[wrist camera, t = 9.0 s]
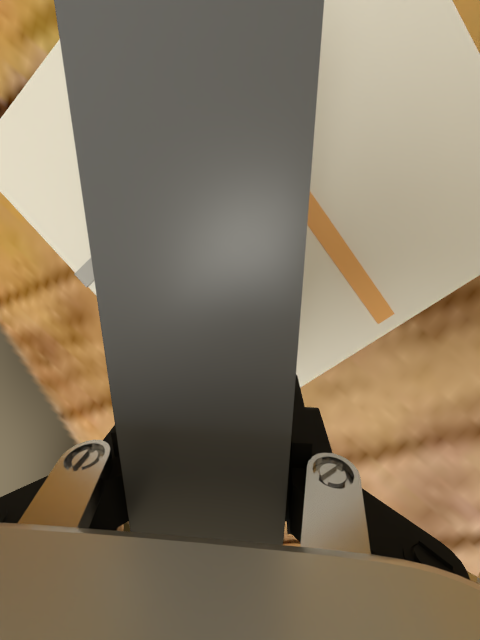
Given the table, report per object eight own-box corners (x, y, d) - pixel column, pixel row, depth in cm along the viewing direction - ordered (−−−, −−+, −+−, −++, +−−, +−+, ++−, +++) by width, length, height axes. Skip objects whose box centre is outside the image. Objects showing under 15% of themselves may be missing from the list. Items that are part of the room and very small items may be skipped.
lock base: (300, -233, 13) (363, -1098, 5) (541, 222, 18) (797, 211, 9) (-8, 164, 20) (-220, 110, 11) (227, 423, 24) (206, 526, 16)
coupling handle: (145, -78, 8) (-114, -751, 3) (323, -93, 8) (470, -924, 2) (179, 448, 14) (120, 596, 8) (285, 456, 14) (299, 617, 8)
